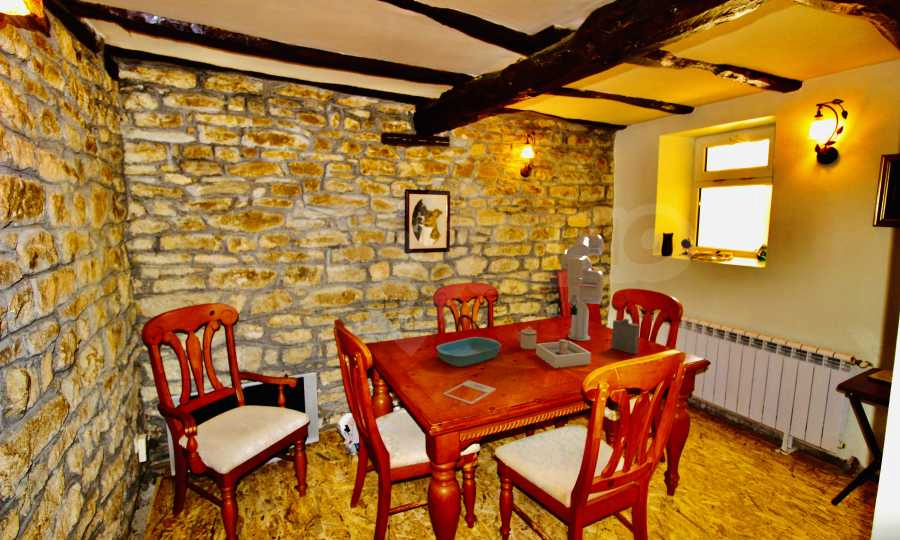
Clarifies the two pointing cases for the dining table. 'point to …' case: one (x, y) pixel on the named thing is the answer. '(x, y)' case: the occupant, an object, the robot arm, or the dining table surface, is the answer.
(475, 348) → the casserole dish
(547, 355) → the open top box
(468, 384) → the photo frame
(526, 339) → the teacup with lid
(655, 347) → the dining table surface
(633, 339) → the flask
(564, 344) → the peg
